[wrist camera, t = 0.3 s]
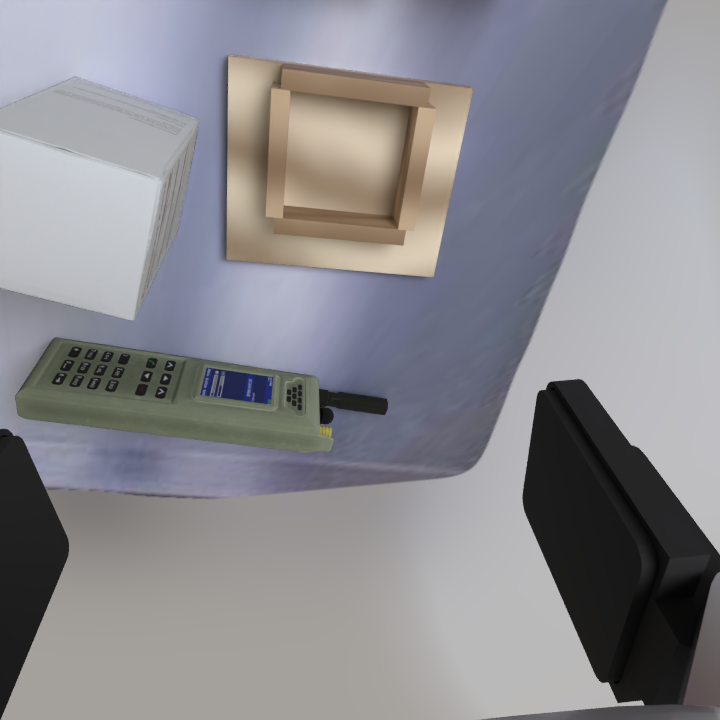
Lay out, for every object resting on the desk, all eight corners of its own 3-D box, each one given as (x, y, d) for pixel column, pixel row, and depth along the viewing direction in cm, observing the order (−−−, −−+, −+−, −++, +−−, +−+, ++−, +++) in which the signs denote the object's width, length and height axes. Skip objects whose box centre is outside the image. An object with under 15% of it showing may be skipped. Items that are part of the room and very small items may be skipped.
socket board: (230, 54, 33) (223, 60, 30) (468, 86, 35) (484, 95, 32) (228, 253, 39) (222, 275, 36) (430, 271, 41) (440, 293, 38)
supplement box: (60, 196, 36) (-40, 282, 26) (74, 72, 33) (-35, 112, 22) (180, 233, 38) (133, 327, 28) (205, 119, 35) (163, 177, 24)
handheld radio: (52, 328, 41) (390, 379, 46) (54, 366, 43) (380, 411, 48) (13, 386, 36) (402, 437, 41) (17, 426, 38) (389, 470, 42)
